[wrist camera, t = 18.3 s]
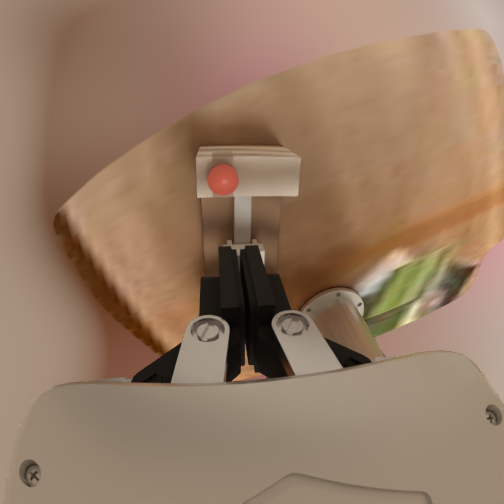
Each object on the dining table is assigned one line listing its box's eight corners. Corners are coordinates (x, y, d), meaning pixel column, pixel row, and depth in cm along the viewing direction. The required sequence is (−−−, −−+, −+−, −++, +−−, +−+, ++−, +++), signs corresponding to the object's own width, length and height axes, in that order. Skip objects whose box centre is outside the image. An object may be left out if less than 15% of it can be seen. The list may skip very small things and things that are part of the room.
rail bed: (272, 290, 44) (283, 327, 37) (207, 293, 43) (207, 332, 36) (281, 145, 34) (301, 157, 26) (200, 145, 32) (195, 157, 25)
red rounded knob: (235, 183, 30) (238, 195, 26) (208, 184, 29) (208, 196, 26) (235, 157, 28) (238, 165, 25) (208, 158, 28) (207, 166, 24)
